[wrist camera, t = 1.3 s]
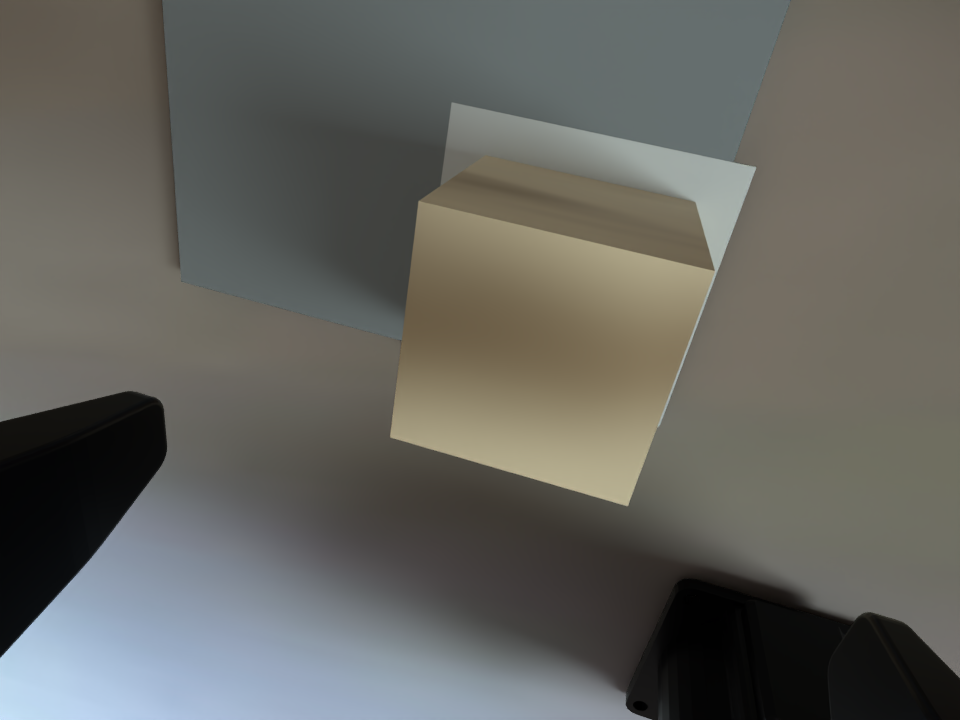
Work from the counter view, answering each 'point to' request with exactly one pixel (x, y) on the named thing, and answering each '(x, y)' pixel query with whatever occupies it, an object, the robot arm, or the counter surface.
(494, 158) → the maple cube
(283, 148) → the mat
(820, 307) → the counter surface
